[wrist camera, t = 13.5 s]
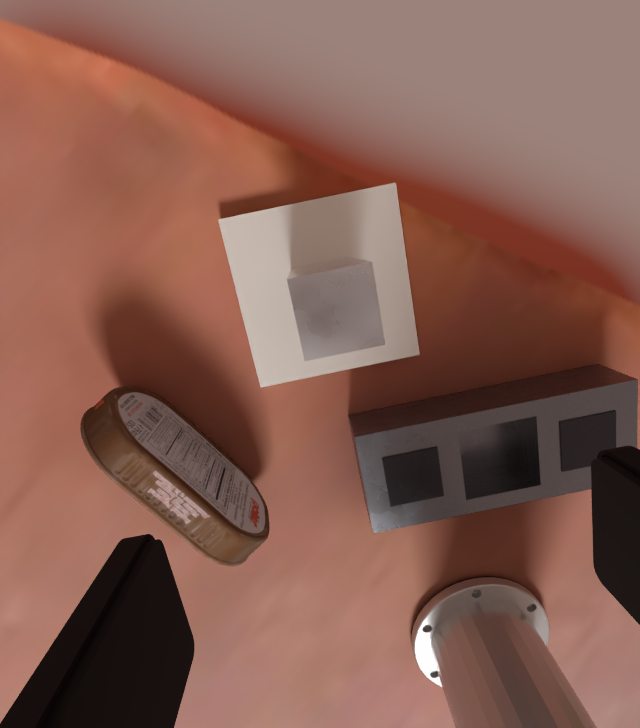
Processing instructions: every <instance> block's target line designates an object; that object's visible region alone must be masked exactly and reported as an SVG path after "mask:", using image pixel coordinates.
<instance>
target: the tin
mask: <svg viewBox="0 0 640 728" xmlns="http://www.w3.org/2000/svg"><path fill="white" fill-rule="evenodd" d="M81 436H82V439H83V442H84V445H85V447H86V449H87V451H88V452H89V454H90V456H91V457H92V459H93V460H94V462H95V463H96V464H97V465H98V467H99V468H100V469H101V470H102V471H103V472H104V473H105V474H106V475H107V476H108V477H109V478H110V479H111V480H113V481H114V482H115V483H116V484H117V485H119V486H120V487H121V488H122V489H123V490H125V491H126V492H127V493H128V494H130V495H131V496H132V497H133V498H134V499H135V500H137V501H138V502H139V503H140V504H141V505H143V506H144V507H145V508H147V509H148V510H149V511H150V512H151V513H152V514H154V515H155V516H156V517H157V518H159V519H160V520H161V521H162V522H163V523H164V524H166V525H167V526H168V527H169V528H171V529H172V530H173V531H174V532H175V533H176V534H177V535H179V536H180V537H181V538H183V539H184V540H185V541H186V542H187V543H188V544H190V545H191V546H192V547H193V548H194V549H195V550H197V551H198V552H199V553H201V554H202V555H203V556H205V557H206V558H208V559H209V560H211V561H213V562H216V563H218V564H221V565H225V566H237V565H240V564H242V563H243V562H245V561H246V559H247V558H248V556H249V555H250V554H251V553H252V552H253V551H255V550H256V549H257V548H258V547H259V546H260V545H261V544H262V543H263V542H264V541H265V540H266V539H267V537H268V534H269V516H268V509H267V506H266V504H265V501H264V499H263V497H262V496H261V494H260V492H259V491H258V489H257V487H256V486H255V485H254V483H253V482H252V481H251V479H250V478H249V477H248V476H247V475H246V474H245V473H244V472H243V471H242V470H241V469H240V468H239V467H238V466H237V465H236V464H235V463H234V462H233V461H232V460H231V459H230V458H229V457H227V456H226V455H225V454H224V453H223V452H222V451H221V450H220V449H219V448H218V447H217V446H216V445H215V444H213V443H212V442H211V441H210V440H209V439H208V438H207V437H206V436H205V435H204V434H203V433H201V432H200V431H199V430H198V429H197V428H196V427H195V426H194V425H193V424H192V423H190V422H189V421H188V420H187V419H186V418H185V417H184V416H183V415H182V414H180V413H179V412H178V411H177V410H176V409H175V408H174V407H172V406H171V405H170V404H169V403H167V402H166V401H165V400H163V399H162V398H160V397H159V396H157V395H155V394H153V393H152V392H150V391H147V390H145V389H142V388H139V387H135V386H123V387H119V388H116V389H113V390H111V391H110V392H109V393H108V394H106V395H105V396H104V397H103V398H102V399H101V400H100V401H99V402H98V403H97V404H96V405H95V406H94V407H92V408H90V409H89V410H87V411H86V412H85V413H84V415H83V417H82V420H81Z"/></svg>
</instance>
